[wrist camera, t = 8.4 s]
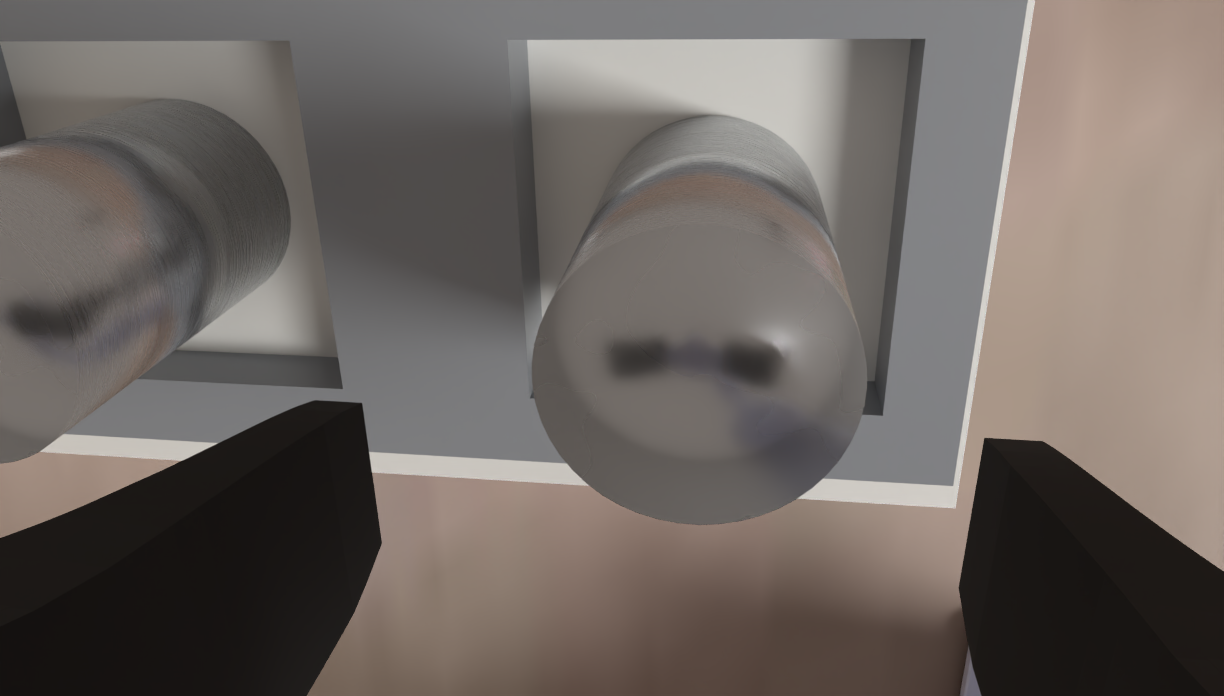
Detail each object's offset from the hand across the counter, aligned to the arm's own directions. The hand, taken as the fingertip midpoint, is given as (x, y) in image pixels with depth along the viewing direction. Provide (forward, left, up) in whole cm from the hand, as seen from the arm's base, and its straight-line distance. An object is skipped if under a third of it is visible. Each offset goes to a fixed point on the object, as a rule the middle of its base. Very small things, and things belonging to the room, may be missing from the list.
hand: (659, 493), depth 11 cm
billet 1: (+11, -1, -9) cm, 14 cm away
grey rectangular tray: (+5, -1, -10) cm, 11 cm away
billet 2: (0, -1, -9) cm, 9 cm away
